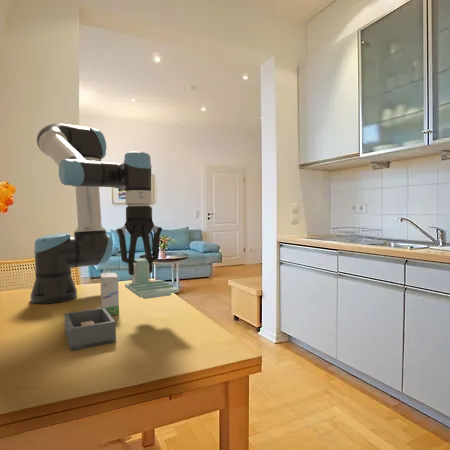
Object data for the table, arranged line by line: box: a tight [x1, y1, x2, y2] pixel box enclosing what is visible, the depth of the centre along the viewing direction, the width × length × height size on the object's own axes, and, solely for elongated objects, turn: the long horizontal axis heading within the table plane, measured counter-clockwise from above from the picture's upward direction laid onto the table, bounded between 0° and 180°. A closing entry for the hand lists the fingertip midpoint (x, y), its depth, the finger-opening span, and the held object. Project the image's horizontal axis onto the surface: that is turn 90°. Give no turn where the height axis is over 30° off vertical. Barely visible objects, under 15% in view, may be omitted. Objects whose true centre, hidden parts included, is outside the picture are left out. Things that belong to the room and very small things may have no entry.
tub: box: [64, 307, 117, 351], centre depth 87 cm, size 10×14×5 cm
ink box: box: [100, 272, 120, 316], centre depth 109 cm, size 8×5×12 cm, turn 23°
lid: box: [124, 258, 180, 300], centre depth 97 cm, size 10×20×8 cm, turn 30°
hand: (140, 284), depth 103 cm, fingers closed on lid, 3 cm apart
